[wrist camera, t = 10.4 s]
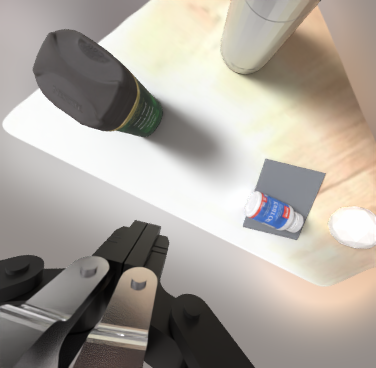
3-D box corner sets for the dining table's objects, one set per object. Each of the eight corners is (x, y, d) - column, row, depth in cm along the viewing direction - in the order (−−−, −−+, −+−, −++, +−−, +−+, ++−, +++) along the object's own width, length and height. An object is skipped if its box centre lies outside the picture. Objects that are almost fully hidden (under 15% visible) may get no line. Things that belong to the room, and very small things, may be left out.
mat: (265, 158, 35) (266, 158, 35) (324, 173, 35) (325, 173, 35) (242, 226, 39) (243, 226, 38) (296, 238, 39) (297, 240, 38)
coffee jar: (170, 108, 34) (139, 70, 16) (148, 143, 36) (98, 143, 18) (127, 76, 33) (43, -2, 15) (107, 113, 35) (10, 83, 17)
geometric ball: (323, 221, 40) (321, 246, 35) (338, 192, 36) (339, 216, 31) (366, 235, 37) (372, 266, 31) (390, 206, 32) (401, 235, 27)
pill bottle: (262, 192, 31) (311, 212, 32) (251, 189, 37) (293, 206, 37) (250, 220, 32) (299, 240, 32) (240, 213, 37) (282, 230, 38)
